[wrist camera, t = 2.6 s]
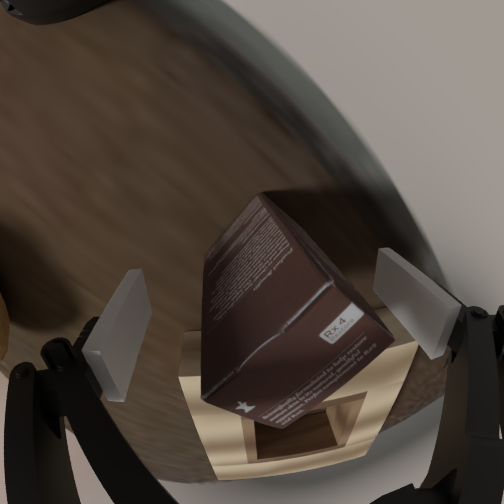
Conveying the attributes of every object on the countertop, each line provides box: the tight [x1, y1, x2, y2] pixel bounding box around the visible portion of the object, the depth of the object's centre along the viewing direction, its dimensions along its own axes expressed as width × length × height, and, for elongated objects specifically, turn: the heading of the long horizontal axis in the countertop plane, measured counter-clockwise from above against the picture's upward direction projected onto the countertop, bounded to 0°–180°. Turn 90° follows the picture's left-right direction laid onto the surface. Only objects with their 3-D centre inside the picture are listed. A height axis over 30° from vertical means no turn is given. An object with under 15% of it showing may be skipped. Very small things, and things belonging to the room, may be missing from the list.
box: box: [200, 193, 395, 429], centre depth 14 cm, size 6×4×12 cm
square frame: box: [178, 307, 419, 480], centre depth 24 cm, size 20×18×5 cm
